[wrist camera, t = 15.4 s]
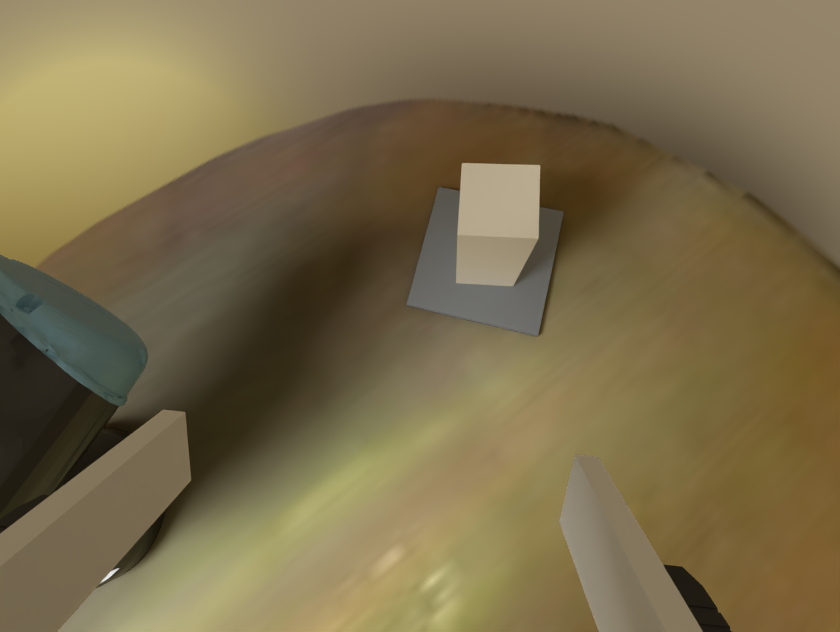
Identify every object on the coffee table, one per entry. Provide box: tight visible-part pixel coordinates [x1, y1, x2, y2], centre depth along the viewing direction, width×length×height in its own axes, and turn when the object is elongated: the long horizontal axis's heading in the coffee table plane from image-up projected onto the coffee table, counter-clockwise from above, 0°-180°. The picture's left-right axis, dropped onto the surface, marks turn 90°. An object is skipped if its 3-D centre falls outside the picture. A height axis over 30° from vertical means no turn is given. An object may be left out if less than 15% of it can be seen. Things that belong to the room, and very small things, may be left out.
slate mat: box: [407, 187, 564, 337], centre depth 44 cm, size 14×14×1 cm
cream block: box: [456, 163, 540, 286], centre depth 37 cm, size 6×6×13 cm
